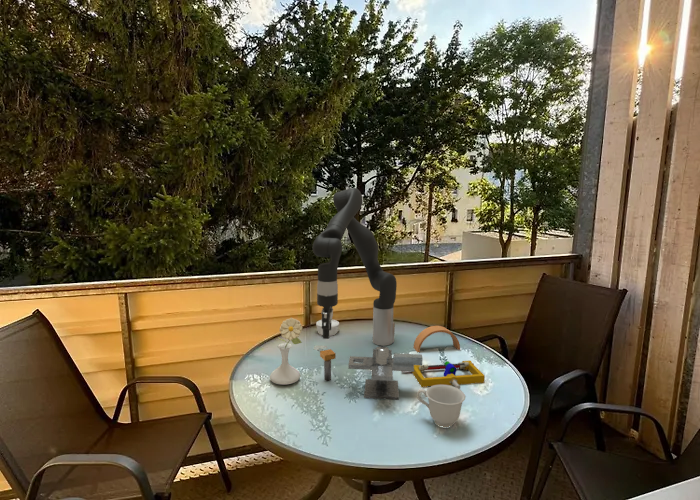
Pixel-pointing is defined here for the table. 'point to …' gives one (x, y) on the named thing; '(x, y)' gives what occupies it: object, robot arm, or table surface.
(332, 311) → the robot arm
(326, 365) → the pin
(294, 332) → the flower in vase
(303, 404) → the table surface
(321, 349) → the mounting bracket
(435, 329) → the arch
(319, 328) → the ramekin
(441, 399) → the teacup
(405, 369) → the metal cross stand
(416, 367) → the mechanical clamp
